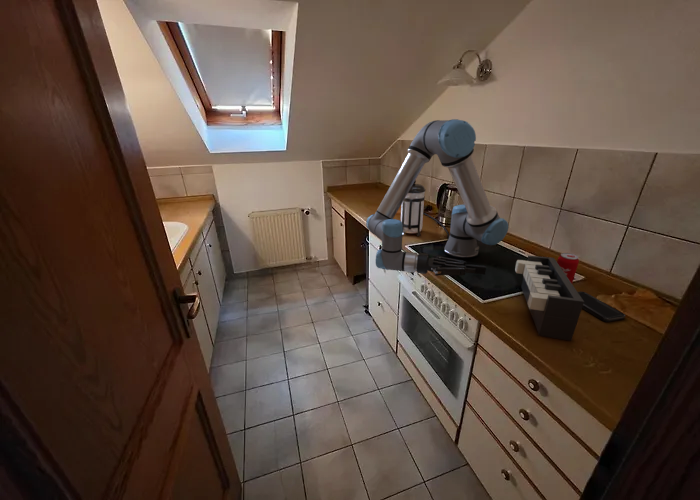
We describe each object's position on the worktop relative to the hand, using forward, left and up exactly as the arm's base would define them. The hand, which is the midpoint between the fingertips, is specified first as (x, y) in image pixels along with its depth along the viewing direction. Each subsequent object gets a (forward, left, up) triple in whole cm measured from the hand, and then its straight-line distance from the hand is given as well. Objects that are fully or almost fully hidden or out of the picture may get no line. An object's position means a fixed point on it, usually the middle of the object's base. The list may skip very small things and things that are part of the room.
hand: (485, 270), depth 104 cm
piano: (+13, +14, -9) cm, 21 cm away
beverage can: (-1, +32, -10) cm, 33 cm away
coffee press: (-66, -6, -10) cm, 67 cm away
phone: (+14, +31, -9) cm, 35 cm away
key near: (+22, +6, -2) cm, 23 cm away
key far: (+1, +15, -2) cm, 16 cm away
